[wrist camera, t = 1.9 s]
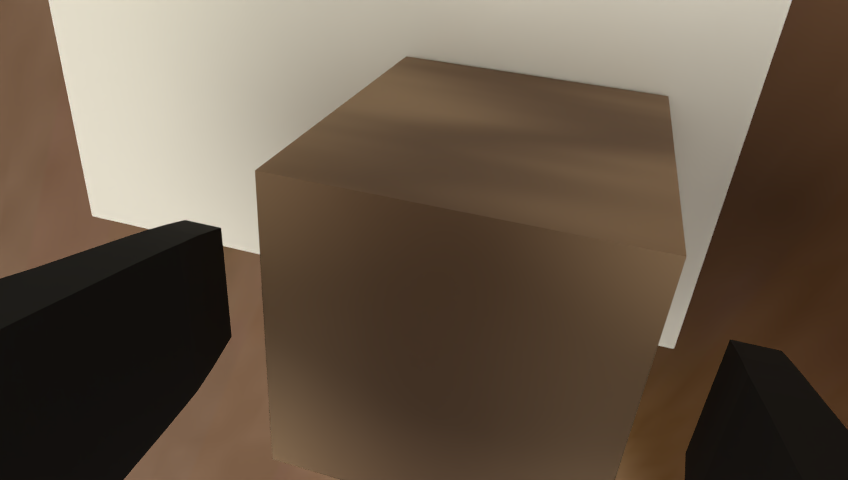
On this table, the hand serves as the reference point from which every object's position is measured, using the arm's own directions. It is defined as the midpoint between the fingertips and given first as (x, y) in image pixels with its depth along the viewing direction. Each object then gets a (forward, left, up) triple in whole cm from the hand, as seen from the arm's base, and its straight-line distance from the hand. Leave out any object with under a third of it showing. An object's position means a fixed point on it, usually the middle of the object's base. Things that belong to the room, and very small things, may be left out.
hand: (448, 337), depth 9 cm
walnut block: (0, 0, -5) cm, 5 cm away
